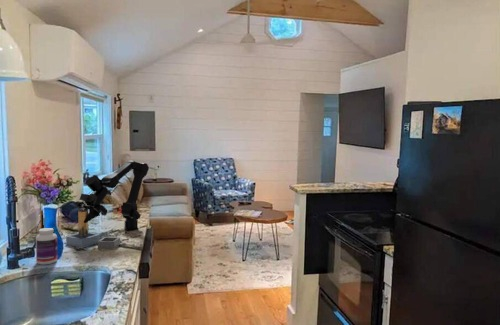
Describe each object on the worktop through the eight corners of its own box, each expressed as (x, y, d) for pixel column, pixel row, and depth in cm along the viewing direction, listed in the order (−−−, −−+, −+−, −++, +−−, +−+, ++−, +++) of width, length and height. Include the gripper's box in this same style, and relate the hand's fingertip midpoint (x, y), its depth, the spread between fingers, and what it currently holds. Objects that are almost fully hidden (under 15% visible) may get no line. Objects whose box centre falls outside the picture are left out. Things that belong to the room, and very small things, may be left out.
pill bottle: (60, 262, 161) (59, 229, 160) (39, 267, 156) (38, 232, 154) (54, 257, 167) (53, 225, 166) (33, 261, 161) (33, 228, 160)
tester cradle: (104, 243, 189) (104, 236, 189) (120, 244, 189) (120, 237, 189) (97, 248, 181) (97, 241, 181) (114, 249, 181) (114, 242, 181)
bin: (84, 238, 196) (84, 231, 196) (99, 242, 191) (99, 234, 191) (66, 244, 186) (66, 236, 186) (81, 247, 182) (81, 239, 181)
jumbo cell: (89, 233, 191) (89, 208, 190) (86, 235, 187) (86, 209, 185) (80, 233, 191) (80, 207, 189) (77, 235, 186) (76, 209, 185)
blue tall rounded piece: (70, 232, 207) (70, 196, 206) (56, 237, 198) (55, 199, 196) (50, 229, 212) (49, 194, 210) (35, 233, 203) (34, 197, 201)
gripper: (76, 185, 194) (57, 210, 185) (102, 189, 186) (84, 215, 177) (89, 198, 202) (71, 222, 193) (115, 202, 194) (97, 228, 185)
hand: (80, 222), depth 187 cm, fingers closed on jumbo cell, 4 cm apart
